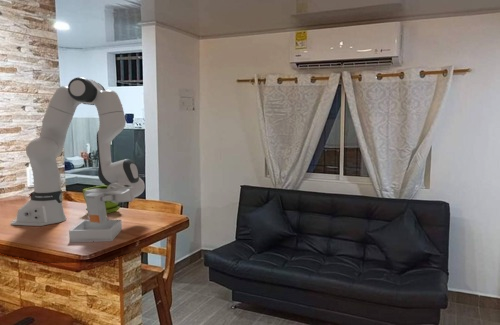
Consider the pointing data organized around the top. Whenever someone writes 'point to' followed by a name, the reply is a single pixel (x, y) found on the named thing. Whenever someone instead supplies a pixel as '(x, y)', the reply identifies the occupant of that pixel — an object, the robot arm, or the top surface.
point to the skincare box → (96, 208)
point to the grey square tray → (95, 231)
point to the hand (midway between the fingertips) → (94, 198)
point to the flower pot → (108, 204)
